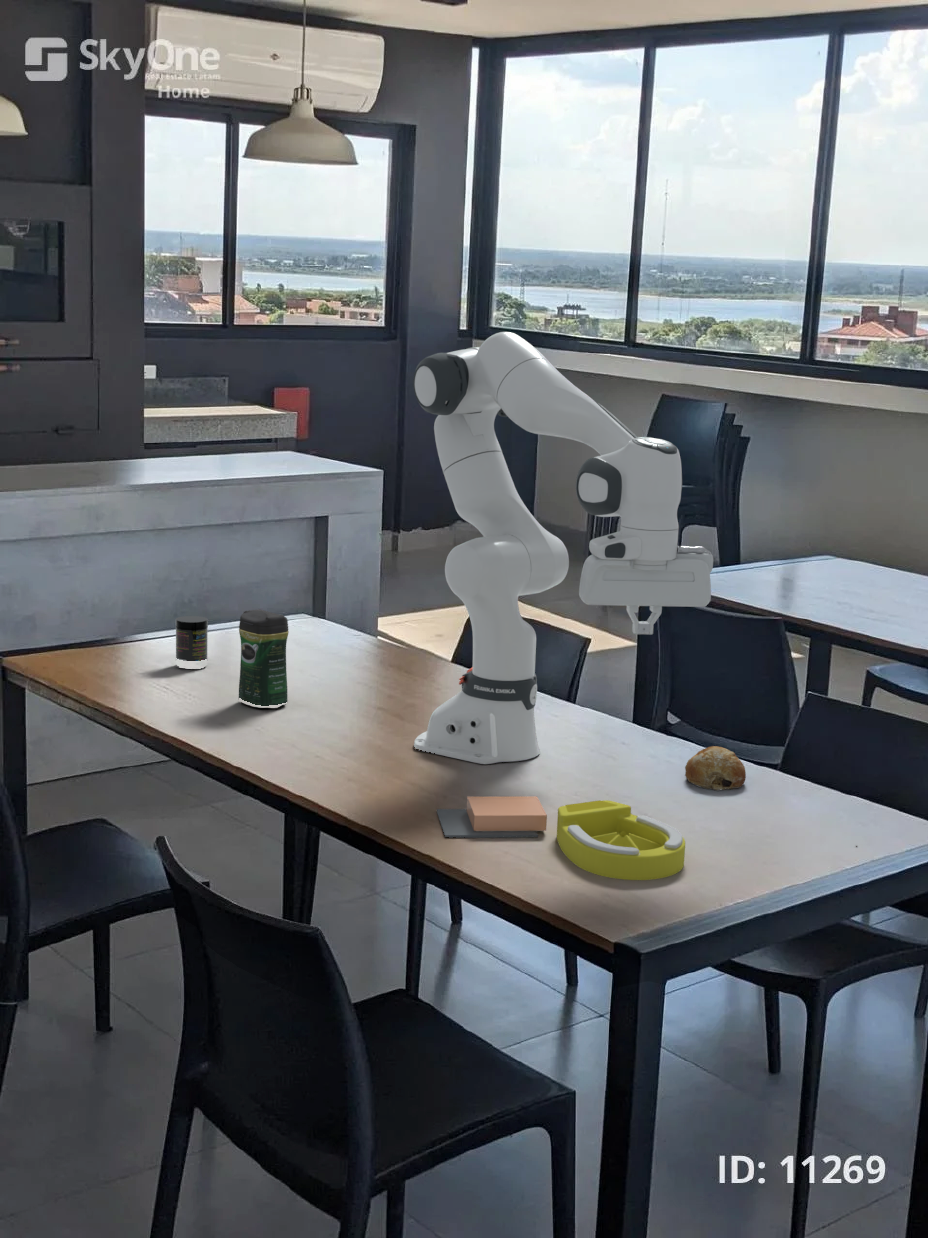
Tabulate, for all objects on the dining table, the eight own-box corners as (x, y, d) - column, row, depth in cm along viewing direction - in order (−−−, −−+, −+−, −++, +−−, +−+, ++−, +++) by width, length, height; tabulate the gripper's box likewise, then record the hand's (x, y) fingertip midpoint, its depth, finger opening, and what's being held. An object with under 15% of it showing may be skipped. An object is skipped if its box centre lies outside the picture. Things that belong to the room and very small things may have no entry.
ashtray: (626, 827, 236) (628, 796, 235) (706, 872, 218) (709, 839, 217) (534, 841, 228) (535, 809, 227) (609, 889, 211) (611, 854, 210)
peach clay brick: (536, 796, 239) (467, 796, 237) (547, 815, 230) (474, 815, 229) (536, 812, 239) (466, 812, 238) (546, 831, 230) (473, 831, 229)
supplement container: (213, 665, 328) (214, 618, 326) (196, 672, 322) (196, 623, 319) (187, 661, 330) (187, 614, 328) (169, 668, 324) (169, 619, 322)
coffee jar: (294, 706, 297) (296, 613, 294) (261, 712, 292) (262, 617, 288) (264, 696, 304) (265, 604, 300) (231, 702, 299) (232, 609, 295)
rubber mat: (525, 811, 241) (525, 808, 240) (537, 837, 229) (537, 834, 229) (436, 811, 239) (436, 809, 239) (445, 837, 227) (445, 835, 227)
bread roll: (692, 809, 256) (704, 774, 252) (672, 768, 264) (683, 733, 259) (746, 806, 259) (759, 771, 254) (724, 765, 267) (736, 731, 262)
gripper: (708, 543, 238) (702, 630, 241) (579, 540, 235) (574, 628, 238) (720, 550, 232) (713, 638, 235) (587, 547, 229) (582, 637, 232)
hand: (642, 633), depth 236 cm, fingers closed
